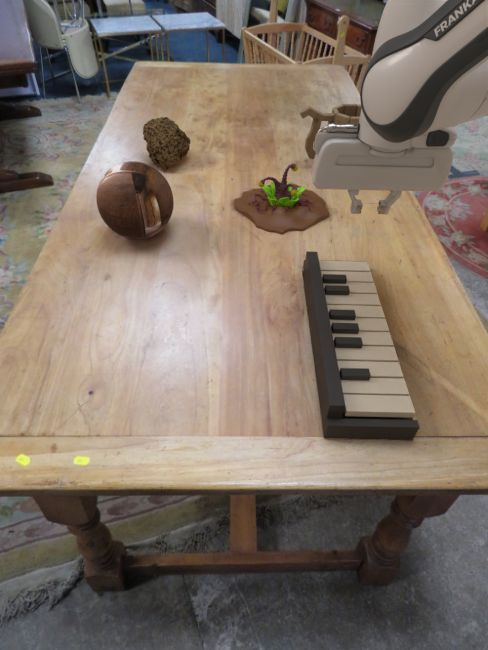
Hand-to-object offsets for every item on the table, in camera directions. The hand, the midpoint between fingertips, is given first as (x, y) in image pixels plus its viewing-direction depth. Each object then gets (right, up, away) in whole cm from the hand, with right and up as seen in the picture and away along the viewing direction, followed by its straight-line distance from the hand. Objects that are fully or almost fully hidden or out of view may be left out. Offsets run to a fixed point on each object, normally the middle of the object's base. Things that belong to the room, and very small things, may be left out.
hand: (368, 212), depth 71 cm
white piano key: (-3, -30, -13) cm, 32 cm away
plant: (-12, +7, +28) cm, 31 cm away
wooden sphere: (-42, +1, +22) cm, 48 cm away
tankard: (+3, +25, +47) cm, 53 cm away
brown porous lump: (-41, +26, +47) cm, 68 cm away
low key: (-2, -8, +8) cm, 12 cm away
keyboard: (-3, -21, 0) cm, 21 cm away
